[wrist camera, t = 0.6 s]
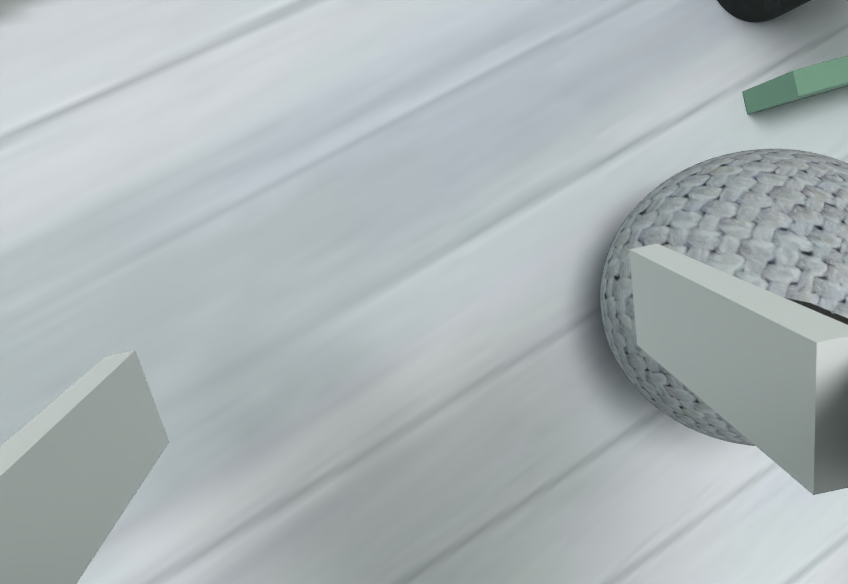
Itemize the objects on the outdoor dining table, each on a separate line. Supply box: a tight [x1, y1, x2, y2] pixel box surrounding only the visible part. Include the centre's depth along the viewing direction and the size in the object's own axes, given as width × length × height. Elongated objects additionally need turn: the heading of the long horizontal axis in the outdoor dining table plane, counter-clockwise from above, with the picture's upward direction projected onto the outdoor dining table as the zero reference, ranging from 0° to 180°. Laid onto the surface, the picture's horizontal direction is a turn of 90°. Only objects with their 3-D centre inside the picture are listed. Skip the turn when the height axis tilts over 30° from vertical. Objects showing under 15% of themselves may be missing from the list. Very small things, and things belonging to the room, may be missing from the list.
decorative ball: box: [600, 149, 848, 446], centre depth 29 cm, size 15×15×15 cm
